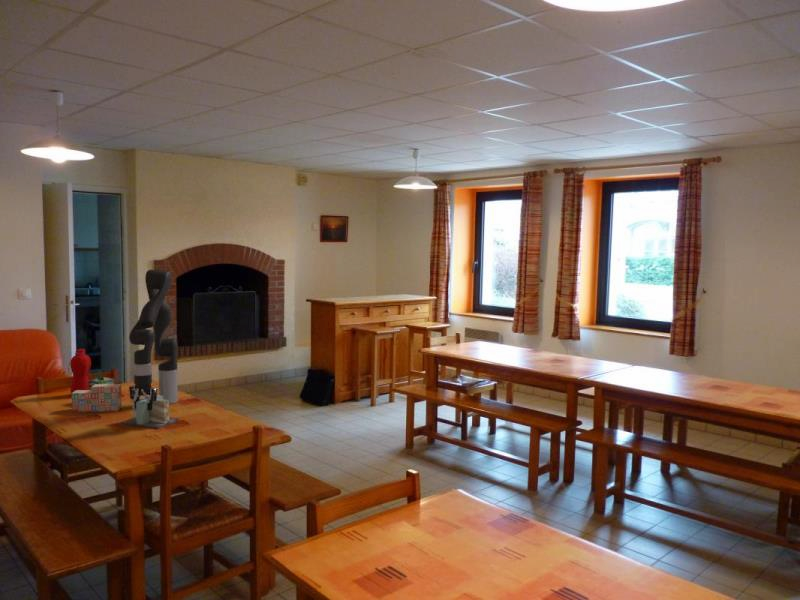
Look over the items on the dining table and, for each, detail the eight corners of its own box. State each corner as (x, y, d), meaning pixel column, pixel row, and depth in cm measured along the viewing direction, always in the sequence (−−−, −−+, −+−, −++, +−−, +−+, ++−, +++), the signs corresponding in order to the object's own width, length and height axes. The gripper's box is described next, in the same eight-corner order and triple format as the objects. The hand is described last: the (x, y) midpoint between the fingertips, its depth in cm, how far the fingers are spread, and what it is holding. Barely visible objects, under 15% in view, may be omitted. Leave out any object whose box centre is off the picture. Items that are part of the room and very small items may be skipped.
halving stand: (144, 416, 295) (143, 393, 294) (178, 420, 288) (178, 397, 287) (122, 423, 282) (121, 400, 281) (158, 428, 275) (157, 404, 274)
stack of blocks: (71, 412, 300) (70, 387, 299) (76, 408, 306) (75, 384, 305) (117, 411, 303) (117, 386, 302) (121, 408, 309) (121, 383, 308)
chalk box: (115, 400, 322) (114, 372, 321) (98, 404, 314) (98, 375, 313) (105, 398, 327) (104, 370, 326) (88, 401, 319) (87, 373, 318)
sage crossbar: (158, 416, 292) (157, 395, 291) (163, 416, 291) (163, 395, 290) (136, 423, 279) (136, 402, 278) (142, 424, 278) (141, 402, 277)
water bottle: (72, 393, 336) (71, 347, 334) (93, 393, 337) (92, 347, 335) (65, 397, 327) (64, 350, 324) (87, 397, 328) (86, 350, 326)
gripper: (123, 373, 278) (124, 410, 279) (150, 376, 273) (150, 413, 274) (136, 370, 285) (136, 406, 286) (161, 373, 280) (162, 409, 281)
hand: (143, 409), depth 280 cm, fingers open, 6 cm apart
